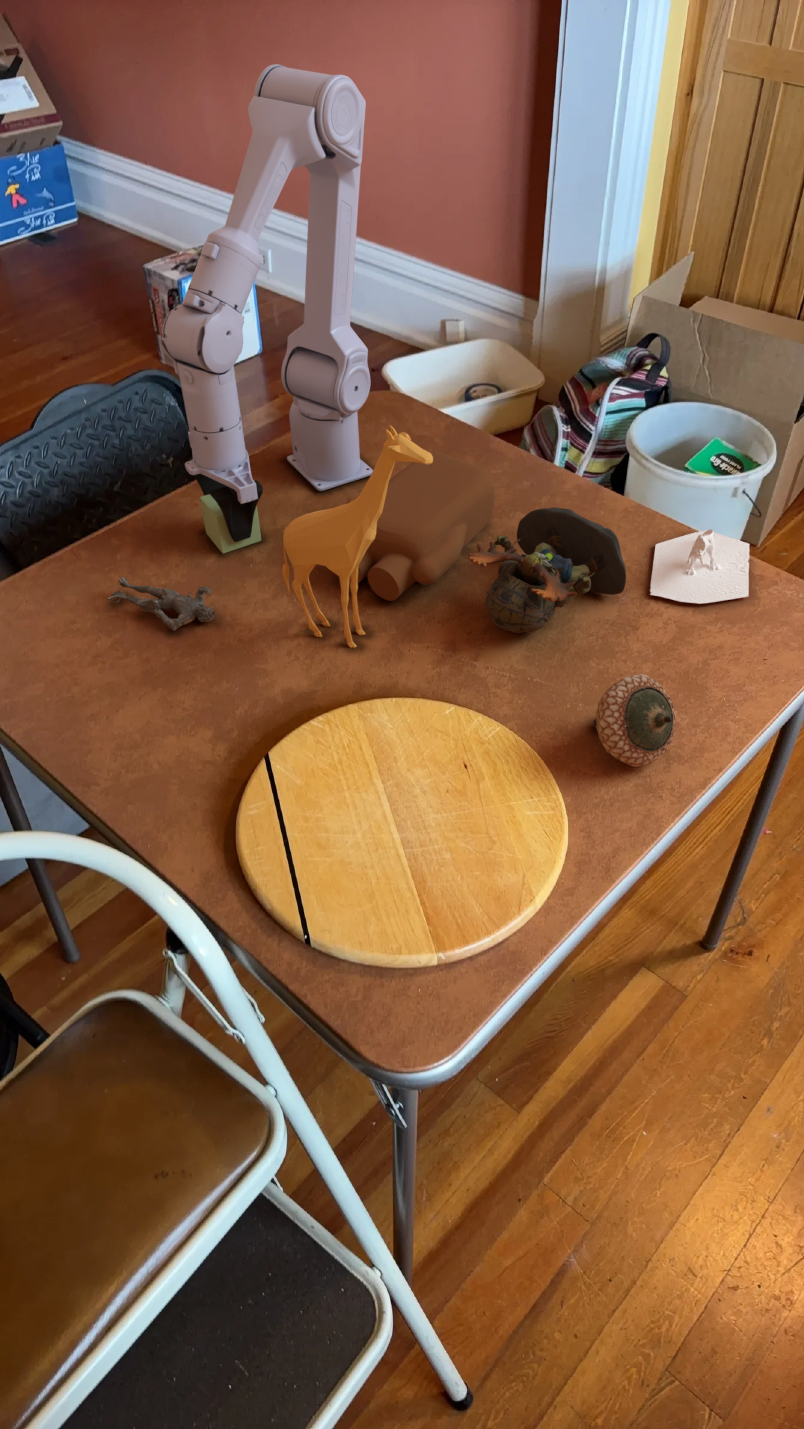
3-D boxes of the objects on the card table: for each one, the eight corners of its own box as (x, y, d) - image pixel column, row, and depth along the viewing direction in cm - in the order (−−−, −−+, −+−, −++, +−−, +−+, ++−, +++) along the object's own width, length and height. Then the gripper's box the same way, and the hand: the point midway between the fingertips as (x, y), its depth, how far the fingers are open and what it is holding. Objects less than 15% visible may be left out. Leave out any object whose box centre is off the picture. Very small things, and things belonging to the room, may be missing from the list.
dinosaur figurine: (673, 542, 119) (678, 491, 116) (775, 562, 113) (784, 509, 110) (622, 593, 109) (626, 538, 106) (731, 617, 103) (740, 560, 100)
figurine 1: (124, 558, 108) (216, 575, 104) (139, 580, 111) (229, 597, 107) (96, 602, 106) (190, 622, 101) (113, 624, 109) (204, 643, 105)
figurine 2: (652, 534, 104) (568, 593, 92) (626, 610, 110) (544, 674, 98) (541, 485, 110) (448, 533, 98) (522, 559, 116) (433, 613, 104)
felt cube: (205, 533, 118) (199, 496, 114) (244, 520, 120) (238, 484, 116) (222, 554, 115) (216, 517, 111) (261, 540, 117) (256, 504, 113)
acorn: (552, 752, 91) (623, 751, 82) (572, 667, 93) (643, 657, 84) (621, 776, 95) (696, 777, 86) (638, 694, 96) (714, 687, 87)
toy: (420, 623, 107) (517, 528, 117) (418, 566, 101) (519, 472, 112) (315, 576, 113) (416, 491, 124) (307, 521, 107) (413, 436, 118)
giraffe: (439, 645, 102) (441, 423, 85) (423, 672, 100) (422, 447, 82) (298, 609, 107) (273, 391, 90) (278, 633, 104) (249, 413, 87)
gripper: (155, 402, 110) (177, 508, 119) (206, 459, 101) (225, 568, 110) (214, 386, 112) (230, 491, 122) (269, 440, 103) (282, 548, 113)
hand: (231, 526), depth 116 cm, fingers closed on felt cube, 5 cm apart
